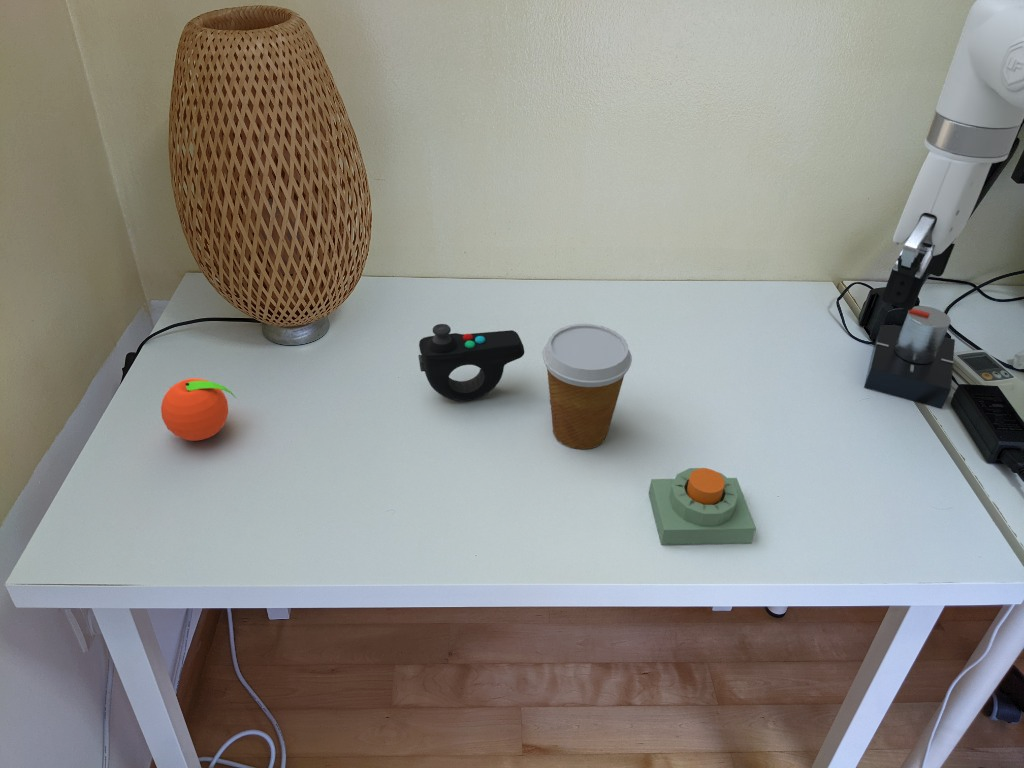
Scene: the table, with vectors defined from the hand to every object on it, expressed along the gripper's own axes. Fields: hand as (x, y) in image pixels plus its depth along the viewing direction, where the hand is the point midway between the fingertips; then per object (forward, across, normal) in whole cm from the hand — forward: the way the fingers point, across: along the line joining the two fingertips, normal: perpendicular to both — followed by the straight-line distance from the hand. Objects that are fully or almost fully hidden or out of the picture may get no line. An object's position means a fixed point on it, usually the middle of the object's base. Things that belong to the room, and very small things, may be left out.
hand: (912, 287), depth 86 cm
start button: (+12, +32, -6) cm, 34 cm away
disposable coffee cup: (+16, +29, -23) cm, 40 cm away
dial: (+12, -8, +1) cm, 15 cm away
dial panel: (+16, -8, +1) cm, 18 cm away
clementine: (+16, +58, -54) cm, 81 cm away
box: (+16, +32, -6) cm, 36 cm away
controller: (+16, +32, -37) cm, 51 cm away
